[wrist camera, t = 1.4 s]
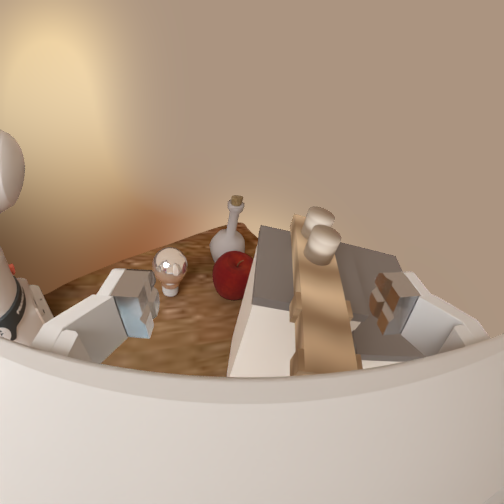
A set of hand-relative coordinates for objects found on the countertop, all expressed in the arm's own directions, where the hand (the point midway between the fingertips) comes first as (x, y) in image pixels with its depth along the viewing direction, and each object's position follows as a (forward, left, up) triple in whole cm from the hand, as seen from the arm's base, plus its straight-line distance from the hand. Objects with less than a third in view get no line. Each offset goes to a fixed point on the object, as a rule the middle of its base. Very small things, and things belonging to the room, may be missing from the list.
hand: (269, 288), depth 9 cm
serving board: (-4, +15, -12) cm, 19 cm away
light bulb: (-31, +12, -38) cm, 51 cm away
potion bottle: (-35, +30, -38) cm, 60 cm away
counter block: (-3, +22, -38) cm, 44 cm away
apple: (-25, +24, -38) cm, 52 cm away
